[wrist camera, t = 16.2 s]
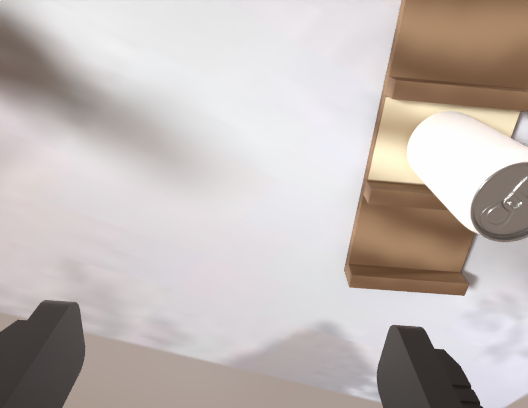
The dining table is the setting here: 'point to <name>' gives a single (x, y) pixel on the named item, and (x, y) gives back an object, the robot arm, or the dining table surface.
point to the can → (473, 173)
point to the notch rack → (416, 111)
